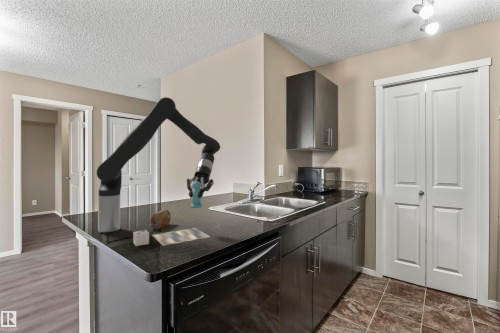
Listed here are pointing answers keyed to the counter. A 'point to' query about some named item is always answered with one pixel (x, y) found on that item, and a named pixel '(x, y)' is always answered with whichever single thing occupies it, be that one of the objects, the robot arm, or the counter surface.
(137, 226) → the counter surface
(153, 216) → the mottled brown slab
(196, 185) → the pawn
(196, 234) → the board
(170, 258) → the counter surface
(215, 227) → the counter surface
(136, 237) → the die
